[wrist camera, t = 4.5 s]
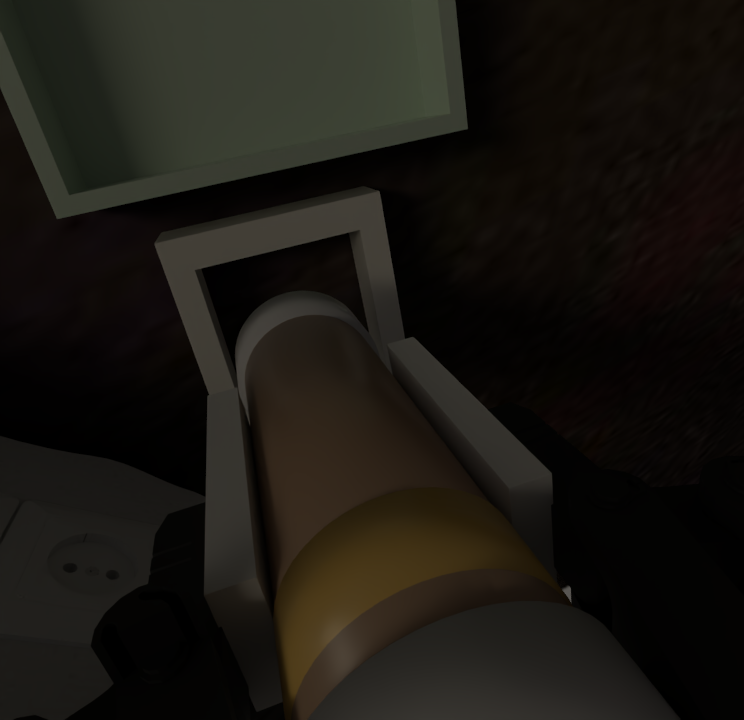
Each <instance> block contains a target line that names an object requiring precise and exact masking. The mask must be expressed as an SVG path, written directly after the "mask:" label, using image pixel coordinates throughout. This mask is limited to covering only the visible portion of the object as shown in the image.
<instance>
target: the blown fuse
mask: <svg viewBox="0 0 744 720" xmlns="http://www.w3.org/2000/svg"><path fill="white" fill-rule="evenodd" d="M235 361H236V371H237V381H238V390H239V394H240V397H241V400H242V403H243V405H244V407H245V409H246V411H247V412H248V414H249V420H250V428H251V435H252V443H253V450H254V458H255V466H256V473H257V481H258V488H259V496H260V503H261V511H262V518H263V526H264V533H265V541H266V549H267V556H268V564H269V571H270V579H271V586H272V594H273V601H274V612H273V625H274V635H275V643H276V651H277V659H278V667H279V675H280V683H281V691H282V699H283V707H284V715H285V720H681V719H680V717H679V716H678V715H677V714H676V712H675V711H674V710H673V709H672V708H671V706H670V705H669V704H668V703H667V701H666V700H665V699H664V698H663V696H662V695H661V694H660V693H659V691H658V690H657V689H656V688H655V686H654V685H653V684H652V683H651V682H650V680H649V679H648V678H647V677H646V675H645V674H644V673H643V672H642V670H641V669H640V668H639V667H638V665H637V664H636V663H635V662H634V661H633V659H632V658H631V657H630V656H629V654H628V653H627V652H626V651H625V649H624V648H623V647H622V646H621V644H620V643H619V642H618V641H617V639H616V638H615V637H614V636H613V635H612V633H611V632H610V631H609V630H608V629H607V628H606V626H605V625H604V624H603V623H601V622H600V621H599V620H597V619H596V618H595V617H593V616H592V615H590V614H588V613H586V612H584V611H582V610H580V609H578V608H574V607H573V606H572V604H571V602H570V600H569V599H568V597H567V596H566V594H565V593H564V592H563V591H562V589H561V588H560V587H559V585H558V584H557V583H556V582H555V580H554V579H553V578H552V576H551V575H550V574H549V573H548V571H547V570H546V569H545V567H544V566H543V565H542V564H541V562H540V561H539V560H538V558H537V557H536V556H535V555H534V553H533V552H532V551H531V549H530V548H529V547H528V545H527V544H526V543H525V542H524V540H523V539H522V538H521V536H520V535H519V534H518V533H517V531H516V530H515V529H514V527H513V526H512V525H511V524H510V522H509V521H508V520H507V519H506V517H505V516H504V515H503V514H502V513H501V512H500V511H499V510H498V509H497V508H496V507H494V506H493V505H492V504H491V503H490V501H489V500H488V499H487V498H486V496H485V495H484V494H483V492H482V491H481V490H480V488H479V487H478V486H477V484H476V483H475V482H474V481H473V479H472V478H471V477H470V475H469V474H468V473H467V471H466V470H465V469H464V468H463V466H462V465H461V464H460V462H459V461H458V460H457V458H456V457H455V456H454V454H453V453H452V452H451V451H450V449H449V448H448V447H447V445H446V444H445V443H444V441H443V440H442V439H441V437H440V436H439V435H438V434H437V432H436V431H435V430H434V428H433V427H432V426H431V424H430V423H429V422H428V421H427V419H426V418H425V417H424V415H423V414H422V413H421V411H420V410H419V409H418V407H417V406H416V405H415V404H414V402H413V401H412V400H411V398H410V397H409V396H408V394H407V393H406V392H405V391H404V389H403V388H402V387H401V385H400V384H399V383H398V381H397V380H396V379H395V377H394V376H393V375H392V374H391V372H390V371H389V370H388V368H387V367H386V366H385V364H384V363H383V362H382V360H381V359H380V356H379V352H378V349H377V347H376V344H375V342H374V340H373V339H372V337H371V335H370V334H369V333H368V332H367V330H366V329H365V328H364V327H363V325H362V324H361V323H360V322H359V320H358V319H357V318H356V317H355V316H354V314H353V313H352V312H351V311H350V310H349V309H348V308H347V307H346V306H345V305H344V304H343V303H341V302H340V301H338V300H337V299H335V298H333V297H331V296H329V295H326V294H323V293H319V292H314V291H293V292H288V293H284V294H281V295H278V296H276V297H273V298H271V299H269V300H268V301H266V302H265V303H263V304H261V305H260V306H259V307H258V308H257V309H255V310H254V311H253V313H252V314H251V315H250V316H249V317H248V318H247V320H246V321H245V323H244V324H243V326H242V328H241V330H240V332H239V335H238V338H237V342H236V347H235Z"/></svg>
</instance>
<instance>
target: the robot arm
mask: <svg viewBox="0 0 744 720" xmlns="http://www.w3.org/2000/svg"><path fill="white" fill-rule="evenodd" d="M387 348H388V353H389V359H390V364H391V369H392V374H393V376H394V377H395V379H396V380H397V381H398V383H399V384H400V385H401V387H402V388H403V389H404V391H405V392H406V393H407V394H408V396H409V397H410V398H411V400H412V401H413V402H414V404H415V405H416V406H417V407H418V409H419V410H420V411H421V413H422V414H423V415H424V417H425V418H426V419H427V421H428V422H429V423H430V424H431V426H432V427H433V428H434V430H435V431H436V432H437V434H438V435H439V436H440V437H441V439H442V440H443V441H444V443H445V444H446V445H447V447H448V448H449V449H450V451H451V452H452V453H453V454H454V456H455V457H456V458H457V460H458V461H459V462H460V464H461V465H462V466H463V468H464V469H465V470H466V471H467V473H468V474H469V475H470V477H471V478H472V479H473V481H474V482H475V483H476V484H477V486H478V487H479V488H480V490H481V491H482V492H483V494H484V495H485V496H486V498H487V499H488V500H489V501H490V503H491V504H492V505H493V506H494V507H496V508H497V509H498V510H499V511H500V512H501V513H502V514H503V515H504V516H505V517H506V519H507V520H508V521H509V522H510V524H511V525H512V526H513V527H514V529H515V530H516V531H517V533H518V534H519V535H520V536H521V538H522V539H523V540H524V542H525V543H526V544H527V545H528V547H529V548H530V549H531V551H532V552H533V553H534V555H535V556H536V557H537V558H538V560H539V561H540V562H541V564H542V565H543V566H544V567H545V569H546V570H547V571H548V573H549V574H550V575H551V576H552V578H553V579H554V580H555V582H556V583H557V571H558V572H559V574H560V575H561V576H562V577H563V579H564V580H565V581H566V582H567V584H568V585H569V586H570V587H571V601H572V606H573V607H574V608H578V609H580V610H582V611H584V612H586V613H588V614H590V615H592V616H593V617H595V618H596V619H597V620H599V621H600V622H601V623H603V624H604V625H605V626H606V628H607V629H608V630H609V631H610V632H611V633H612V635H613V636H614V637H615V638H616V639H617V641H618V642H619V643H620V644H621V646H622V647H623V648H624V649H625V651H626V652H627V653H628V654H629V656H630V657H631V658H632V659H633V661H634V662H635V663H636V664H637V665H638V667H639V668H640V669H641V670H642V672H643V673H644V674H645V675H646V677H647V678H648V679H649V680H650V682H651V683H652V684H653V685H654V686H655V688H656V689H657V690H658V691H659V693H660V694H661V695H662V696H663V698H664V699H665V700H666V701H667V703H668V704H669V705H670V706H671V708H672V709H673V710H674V711H675V712H676V714H677V715H678V716H679V717H680V719H681V720H744V456H726V457H721V458H717V459H713V460H711V461H710V462H708V463H707V464H705V465H704V466H703V469H702V471H701V474H700V483H699V484H693V485H682V486H671V487H650V486H648V485H647V484H646V483H645V482H643V481H642V480H641V479H640V478H638V477H635V476H633V475H631V474H628V473H626V472H621V471H615V470H609V469H606V470H601V469H599V468H598V467H597V466H596V465H595V464H594V463H592V462H591V461H590V460H589V459H588V458H587V457H585V456H584V455H583V454H582V453H581V452H580V451H578V450H577V449H576V448H575V447H574V446H572V445H571V444H570V443H569V442H568V441H567V440H565V439H564V438H563V437H562V436H561V435H560V434H559V435H557V432H556V431H555V430H554V429H553V428H551V427H550V426H549V425H548V424H547V425H546V424H545V422H544V421H543V420H542V419H541V418H540V417H538V416H537V415H536V414H535V413H534V412H533V411H531V410H529V409H527V408H524V407H522V406H519V405H516V404H514V403H511V402H510V403H507V404H504V405H500V406H497V407H494V408H491V409H488V410H487V409H486V408H485V407H484V406H483V405H482V404H481V403H480V402H479V401H478V400H477V399H476V398H475V397H474V396H473V395H472V394H471V393H470V392H469V391H468V390H467V389H466V388H465V387H464V386H463V385H462V384H461V383H460V382H459V381H458V380H457V379H456V378H455V377H454V376H453V375H452V374H451V373H450V372H449V371H448V370H447V369H446V368H445V367H444V366H443V365H441V364H440V363H439V362H438V361H437V360H436V359H435V358H434V357H433V356H432V355H431V354H430V353H429V352H428V351H427V350H426V349H425V348H424V347H423V346H422V345H421V344H420V343H419V342H418V341H417V340H416V339H415V338H414V337H410V338H407V339H403V340H400V341H396V342H393V343H389V344H387ZM152 555H153V558H152V559H151V566H150V574H151V575H149V580H148V584H146V585H143V586H140V587H138V588H136V589H134V590H133V591H131V592H130V593H128V594H126V595H125V596H123V597H122V598H120V599H119V600H118V601H117V602H116V603H115V604H114V605H113V606H112V607H111V608H110V609H109V610H108V611H106V612H105V614H104V615H103V617H102V618H101V620H100V621H99V623H98V625H97V626H96V628H95V629H94V633H93V637H92V642H91V648H92V649H93V651H94V652H95V654H96V656H97V657H98V659H99V660H100V662H101V664H102V665H103V667H104V668H105V670H106V672H107V673H108V675H109V677H110V678H111V680H112V681H113V683H114V684H113V685H112V686H111V687H110V688H109V689H108V690H107V691H105V692H104V693H103V694H101V695H100V696H99V697H97V698H96V699H95V700H93V701H92V702H90V703H89V704H87V705H86V706H84V707H83V708H81V709H80V710H78V711H77V712H75V713H74V714H72V715H71V716H69V717H68V718H66V719H65V720H251V718H250V703H249V696H250V698H251V700H252V703H253V705H254V707H255V709H256V711H257V712H258V711H260V710H263V709H265V708H268V707H271V706H273V705H276V704H278V703H281V702H283V699H282V691H281V683H280V675H279V667H278V659H277V651H276V643H275V635H274V625H273V612H274V601H273V594H272V586H271V579H270V571H269V564H268V556H267V549H266V541H265V533H264V526H263V518H262V511H261V503H260V496H259V488H258V481H257V473H256V466H255V458H254V450H253V443H252V435H251V428H250V424H249V421H248V418H247V415H246V412H245V409H244V406H243V403H242V400H241V397H240V394H239V391H238V388H237V387H236V388H233V389H230V390H226V391H223V392H219V393H216V394H212V395H209V396H207V452H206V502H204V503H201V504H197V505H194V506H191V507H188V508H185V509H182V510H179V511H176V512H173V513H169V514H168V515H167V516H166V518H165V519H164V521H163V523H162V524H161V526H160V527H159V529H158V531H157V532H156V534H155V538H154V545H153V552H152ZM14 720H48V719H45V718H42V717H40V716H37V715H31V716H25V717H19V718H16V719H14Z"/></svg>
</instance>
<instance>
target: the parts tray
mask: <svg viewBox="0 0 744 720" xmlns="http://www.w3.org/2000/svg"><path fill="white" fill-rule="evenodd" d="M0 88H1V91H2V93H3V95H4V97H5V100H6V102H7V104H8V107H9V109H10V111H11V114H12V116H13V118H14V120H15V123H16V125H17V127H18V130H19V132H20V134H21V137H22V139H23V141H24V144H25V146H26V148H27V150H28V153H29V155H30V157H31V160H32V162H33V164H34V167H35V169H36V171H37V173H38V176H39V178H40V180H41V183H42V185H43V187H44V190H45V192H46V194H47V197H48V199H49V201H50V203H51V206H52V208H53V210H54V213H55V215H56V217H57V219H59V218H64V217H68V216H73V215H77V214H82V213H87V212H91V211H96V210H100V209H105V208H109V207H114V206H118V205H123V204H128V203H132V202H137V201H141V200H146V199H150V198H155V197H159V196H164V195H169V194H173V193H178V192H182V191H187V190H191V189H196V188H201V187H205V186H210V185H214V184H219V183H223V182H228V181H232V180H237V179H242V178H246V177H251V176H255V175H260V174H264V173H269V172H274V171H278V170H283V169H287V168H292V167H296V166H301V165H305V164H310V163H315V162H319V161H324V160H328V159H333V158H337V157H342V156H346V155H351V154H356V153H360V152H365V151H369V150H374V149H378V148H383V147H388V146H392V145H397V144H401V143H406V142H410V141H415V140H419V139H424V138H429V137H433V136H438V135H442V134H447V133H451V132H456V131H461V130H465V129H468V125H467V114H466V104H465V94H464V84H463V74H462V64H461V54H460V43H459V33H458V23H457V13H456V3H455V0H0Z"/></svg>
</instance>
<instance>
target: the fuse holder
mask: <svg viewBox="0 0 744 720" xmlns="http://www.w3.org/2000/svg"><path fill="white" fill-rule="evenodd" d="M345 233H349V236H350V241H351V246H352V251H353V256H354V261H355V266H356V271H357V276H358V281H359V285H360V290H361V295H362V300H363V305H364V310H365V315H366V320H367V325H368V330H369V334H370V335H371V337H372V339H373V340H374V342H375V344H376V347H377V349H378V352H379V356H380V359H381V360H382V362H383V363H384V364H385V366H386V367H387V368H388V370H389V371H390V372H391V374H392V369H391V364H390V359H389V353H388V348H387V344H389V343H393V342H396V341H400V340H403V339H405V336H404V330H403V324H402V318H401V312H400V307H399V301H398V295H397V289H396V283H395V278H394V272H393V266H392V260H391V254H390V249H389V243H388V237H387V231H386V225H385V220H384V214H383V208H382V202H381V196H380V191H377V190H374V189H371V188H368V187H365V186H362V187H357V188H353V189H349V190H344V191H340V192H336V193H331V194H327V195H323V196H318V197H314V198H310V199H305V200H301V201H297V202H292V203H288V204H284V205H279V206H275V207H271V208H266V209H262V210H257V211H253V212H249V213H244V214H240V215H236V216H231V217H227V218H223V219H218V220H214V221H210V222H205V223H201V224H197V225H192V226H188V227H184V228H179V229H175V230H171V231H166V232H162V233H161V234H160V235H159V237H158V239H157V240H156V242H155V247H156V250H157V252H158V255H159V258H160V261H161V263H162V266H163V269H164V272H165V274H166V277H167V280H168V283H169V285H170V288H171V291H172V294H173V296H174V299H175V302H176V305H177V307H178V310H179V313H180V316H181V318H182V321H183V324H184V327H185V329H186V332H187V335H188V338H189V340H190V343H191V346H192V349H193V351H194V354H195V357H196V360H197V362H198V365H199V368H200V371H201V373H202V376H203V379H204V382H205V384H206V387H207V390H208V393H209V395H212V394H216V393H219V392H223V391H226V390H230V389H233V388H236V387H237V388H238V381H237V375H236V372H235V369H234V366H233V363H232V360H231V357H230V354H229V351H228V348H227V345H226V342H225V339H224V336H223V333H222V330H221V327H220V324H219V321H218V318H217V315H216V312H215V309H214V306H213V303H212V300H211V297H210V294H209V291H208V288H207V285H206V282H205V279H204V276H203V273H202V270H201V268H205V267H209V266H213V265H217V264H222V263H226V262H230V261H234V260H238V259H242V258H246V257H250V256H254V255H259V254H263V253H267V252H271V251H275V250H279V249H283V248H287V247H291V246H295V245H300V244H304V243H308V242H312V241H316V240H320V239H324V238H328V237H332V236H336V235H341V234H345ZM392 375H393V374H392ZM238 391H239V390H238ZM243 406H244V405H243ZM244 409H245V407H244ZM245 412H246V415H247V418H248V421H249V424H250V420H249V414H248V412H247V411H246V409H245Z"/></svg>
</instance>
